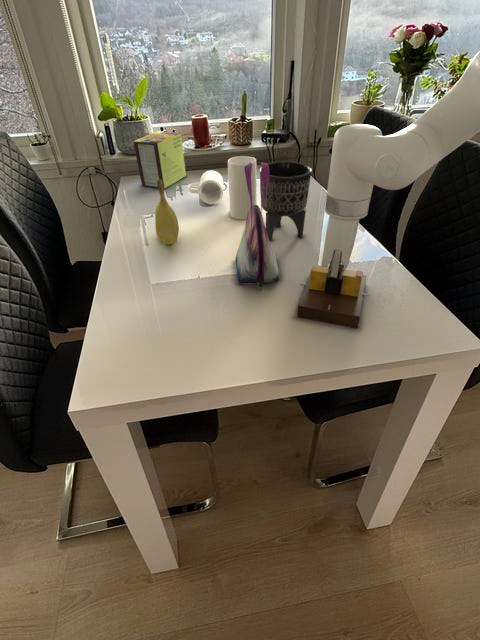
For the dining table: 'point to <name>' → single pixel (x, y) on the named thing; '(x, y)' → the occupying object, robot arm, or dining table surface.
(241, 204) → the cup
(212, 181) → the mug
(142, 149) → the protein box
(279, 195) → the planter
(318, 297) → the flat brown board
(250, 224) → the handbag
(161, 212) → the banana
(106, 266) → the dining table surface
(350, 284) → the yellow block
